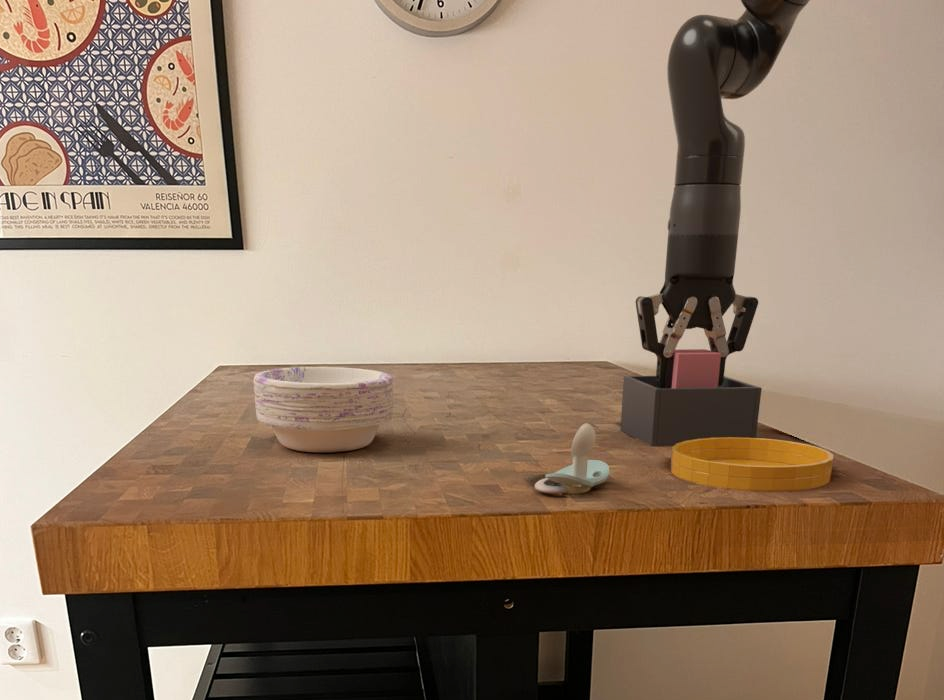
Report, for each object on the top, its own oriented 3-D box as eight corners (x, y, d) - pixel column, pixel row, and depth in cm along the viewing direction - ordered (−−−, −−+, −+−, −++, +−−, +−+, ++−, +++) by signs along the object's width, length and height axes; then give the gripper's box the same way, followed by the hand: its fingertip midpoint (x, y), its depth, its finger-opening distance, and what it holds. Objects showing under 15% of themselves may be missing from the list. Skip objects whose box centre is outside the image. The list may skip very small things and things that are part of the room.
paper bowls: (400, 456, 102) (398, 380, 100) (255, 460, 100) (249, 382, 97) (388, 432, 116) (387, 364, 113) (261, 435, 114) (255, 366, 111)
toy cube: (701, 392, 114) (705, 349, 112) (716, 398, 110) (721, 353, 108) (660, 393, 114) (664, 349, 112) (674, 399, 109) (678, 353, 107)
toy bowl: (787, 459, 102) (790, 435, 101) (859, 491, 88) (863, 464, 87) (650, 462, 100) (652, 438, 99) (702, 496, 86) (705, 468, 85)
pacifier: (521, 496, 87) (581, 502, 84) (521, 426, 84) (583, 430, 81) (558, 481, 92) (615, 486, 89) (558, 415, 90) (617, 418, 87)
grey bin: (714, 428, 120) (720, 374, 118) (755, 446, 109) (761, 387, 106) (620, 430, 118) (623, 375, 116) (651, 448, 107) (655, 389, 105)
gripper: (650, 230, 101) (638, 395, 107) (780, 231, 103) (760, 394, 109) (629, 231, 108) (619, 387, 114) (751, 232, 109) (735, 385, 116)
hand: (688, 389), depth 111 cm, fingers closed on toy cube, 5 cm apart
